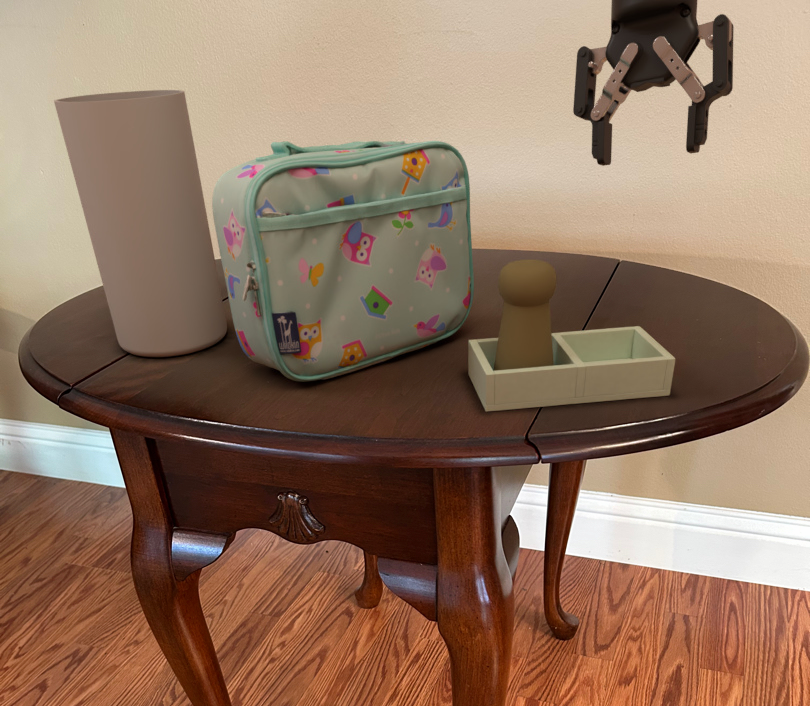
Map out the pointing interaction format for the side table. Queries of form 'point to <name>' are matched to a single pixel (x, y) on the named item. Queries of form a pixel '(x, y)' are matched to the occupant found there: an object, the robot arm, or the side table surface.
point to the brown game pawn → (525, 315)
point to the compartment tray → (575, 370)
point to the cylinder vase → (146, 218)
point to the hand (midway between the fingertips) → (647, 158)
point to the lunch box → (345, 253)
